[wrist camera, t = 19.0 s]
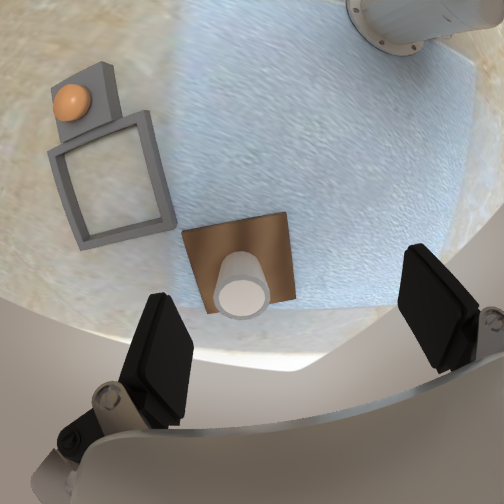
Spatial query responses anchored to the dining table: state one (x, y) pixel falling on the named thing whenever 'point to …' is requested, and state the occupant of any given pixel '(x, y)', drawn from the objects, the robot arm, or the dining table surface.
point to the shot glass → (241, 287)
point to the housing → (93, 127)
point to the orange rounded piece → (71, 102)
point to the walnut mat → (247, 240)
